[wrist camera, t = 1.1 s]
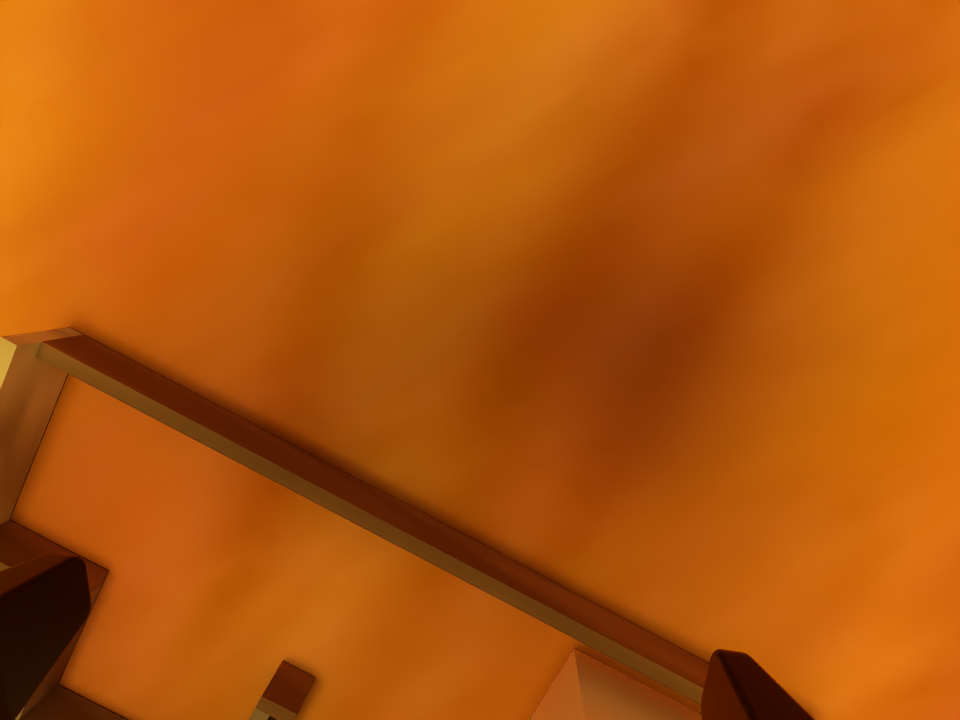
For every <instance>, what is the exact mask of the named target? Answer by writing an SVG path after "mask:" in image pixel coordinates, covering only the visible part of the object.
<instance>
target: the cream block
mask: <svg viewBox="0 0 960 720" xmlns="http://www.w3.org/2000/svg"><path fill="white" fill-rule="evenodd" d="M529 720H702V716H701V714H700V713H698V712H696V711H694V710H693V709H691V708H689V707H687V706H685V705H683V704H681V703H679V702H677V701H675V700H673V699H671V698H669V697H667V696H665V695H663V694H662V693H660V692H658V691H656V690H654V689H652V688H650V687H648V686H646V685H644V684H642V683H640V682H638V681H636V680H634V679H633V678H631V677H629V676H627V675H625V674H623V673H621V672H619V671H617V670H615V669H613V668H611V667H609V666H607V665H605V664H604V663H602V662H600V661H598V660H596V659H594V658H592V657H590V656H588V655H586V654H584V653H582V652H580V651H578V650H576V649H575V648H574V649H573V651H572V652H571V654H570V655H569V657H568V659H567V660H566V662H565V663H564V665H563V667H562V668H561V670H560V671H559V673H558V675H557V676H556V678H555V679H554V681H553V683H552V684H551V686H550V687H549V689H548V691H547V692H546V694H545V695H544V697H543V699H542V700H541V702H540V703H539V705H538V707H537V708H536V710H535V711H534V713H533V715H532V716H531V718H530V719H529Z"/></svg>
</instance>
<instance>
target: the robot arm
mask: <svg viewBox="0 0 960 720" xmlns="http://www.w3.org/2000/svg"><path fill="white" fill-rule="evenodd" d="M91 604H92V602H91V593H90V586H89V579H88V572H87V566H86V562H85V561H84V559H83V558H82V557H80V556H77V555H71V554H64V553H50V554H47V555H44V556H41V557H38V558H36V559H33V560H30V561H27V562H24V563H22V564H19V565H16V566H13V567H10V568H8V569H5V570H2V571H0V720H15V719H16V718H17V716H18V715H19V713H20V712H21V711H22V709H23V708H24V707H25V705H26V704H27V703H28V701H29V700H30V698H31V697H32V696H33V694H34V693H35V691H36V690H37V689H38V687H39V686H40V684H41V683H42V682H43V680H44V679H45V677H46V676H47V675H48V673H49V672H50V670H51V669H52V668H53V666H54V665H55V663H56V662H57V660H58V659H59V658H60V656H61V655H62V653H63V652H64V651H65V649H66V648H67V646H68V645H69V644H70V642H71V641H72V639H73V638H74V637H75V635H76V634H77V632H78V631H79V630H80V628H81V627H82V625H83V624H84V623H85V621H86V619H87V617H88V615H89V613H90V609H91ZM701 716H702V720H815V719H813V718H812V717H811V716H810V715H809V714H808V713H807V712H806V711H805V710H804V709H803V708H802V707H801V706H800V705H799V704H798V703H797V702H796V701H795V700H794V699H793V698H792V697H791V696H790V695H789V694H788V693H787V692H786V691H785V690H784V689H783V688H782V687H781V686H780V685H779V684H778V683H777V682H776V681H775V680H774V679H773V678H772V677H771V676H770V675H769V674H768V673H767V672H766V671H765V670H764V669H763V668H762V667H761V666H760V665H759V664H758V663H757V662H756V661H755V660H754V659H753V658H752V657H750V656H749V655H748V654H746V653H743V652H736V651H730V650H723V649H718V650H716V651H714V652H713V654H712V656H711V659H710V663H709V668H708V672H707V676H706V680H705V684H704V689H703V693H702V698H701Z"/></svg>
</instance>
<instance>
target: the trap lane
mask: <svg viewBox="0 0 960 720" xmlns="http://www.w3.org/2000/svg"><path fill="white" fill-rule="evenodd" d="M67 374H70V375H72V376H74V377H76V378H78V379H79V380H81V381H83V382H85V383H87V384H89V385H91V386H93V387H95V388H97V389H99V390H100V391H102V392H104V393H106V394H108V395H110V396H112V397H114V398H116V399H118V400H120V401H121V402H123V403H125V404H127V405H129V406H131V407H133V408H135V409H137V410H139V411H141V412H143V413H144V414H146V415H148V416H150V417H152V418H154V419H156V420H158V421H160V422H162V423H164V424H165V425H167V426H169V427H171V428H173V429H175V430H177V431H179V432H181V433H183V434H185V435H186V436H188V437H190V438H192V439H194V440H196V441H198V442H200V443H202V444H204V445H206V446H207V447H209V448H211V449H213V450H215V451H217V452H219V453H221V454H223V455H225V456H227V457H229V458H230V459H232V460H234V461H236V462H238V463H240V464H242V465H244V466H246V467H248V468H250V469H251V470H253V471H255V472H257V473H259V474H261V475H263V476H265V477H267V478H269V479H271V480H272V481H274V482H276V483H278V484H280V485H282V486H284V487H286V488H288V489H290V490H292V491H294V492H295V493H297V494H299V495H301V496H303V497H305V498H307V499H309V500H311V501H313V502H315V503H316V504H318V505H320V506H322V507H324V508H326V509H328V510H330V511H332V512H334V513H336V514H337V515H339V516H341V517H343V518H345V519H347V520H349V521H351V522H353V523H355V524H357V525H358V526H360V527H362V528H364V529H366V530H368V531H370V532H372V533H374V534H376V535H378V536H380V537H381V538H383V539H385V540H387V541H389V542H391V543H393V544H395V545H397V546H399V547H401V548H402V549H404V550H406V551H408V552H410V553H412V554H414V555H416V556H418V557H420V558H422V559H423V560H425V561H427V562H429V563H431V564H433V565H435V566H437V567H439V568H441V569H443V570H445V571H446V572H448V573H450V574H452V575H454V576H456V577H458V578H460V579H462V580H464V581H466V582H467V583H469V584H471V585H473V586H475V587H477V588H479V589H481V590H483V591H485V592H487V593H488V594H490V595H492V596H494V597H496V598H498V599H500V600H502V601H504V602H506V603H508V604H509V605H511V606H513V607H515V608H517V609H519V610H521V611H523V612H525V613H527V614H529V615H531V616H532V617H534V618H536V619H538V620H540V621H542V622H544V623H546V624H548V625H550V626H552V627H553V628H555V629H557V630H559V631H561V632H563V633H565V634H567V635H569V636H571V637H573V638H574V639H576V640H578V641H580V642H582V643H584V644H586V645H588V646H590V647H592V648H594V649H596V650H597V651H599V652H601V653H603V654H605V655H607V656H609V657H611V658H613V659H615V660H617V661H618V662H620V663H622V664H624V665H626V666H628V667H630V668H632V669H634V670H636V671H638V672H639V673H641V674H643V675H645V676H647V677H649V678H651V679H653V680H655V681H657V682H659V683H660V684H662V685H664V686H666V687H668V688H670V689H672V690H674V691H676V692H678V693H680V694H682V695H683V696H685V697H687V698H689V699H691V700H693V701H695V702H697V703H699V704H701V698H702V693H703V689H704V684H705V680H706V676H707V672H708V668H709V663H707V662H706V661H704V660H702V659H700V658H698V657H696V656H694V655H692V654H690V653H688V652H687V651H685V650H683V649H681V648H679V647H677V646H675V645H673V644H671V643H669V642H667V641H666V640H664V639H662V638H660V637H658V636H656V635H654V634H652V633H650V632H648V631H647V630H645V629H643V628H641V627H639V626H637V625H635V624H633V623H631V622H629V621H628V620H626V619H624V618H622V617H620V616H618V615H616V614H614V613H612V612H610V611H608V610H607V609H605V608H603V607H601V606H599V605H597V604H595V603H593V602H591V601H589V600H588V599H586V598H584V597H582V596H580V595H578V594H576V593H574V592H572V591H570V590H568V589H567V588H565V587H563V586H561V585H559V584H557V583H555V582H553V581H551V580H549V579H548V578H546V577H544V576H542V575H540V574H538V573H536V572H534V571H532V570H530V569H528V568H527V567H525V566H523V565H521V564H519V563H517V562H515V561H513V560H511V559H509V558H508V557H506V556H504V555H502V554H500V553H498V552H496V551H494V550H492V549H490V548H489V547H487V546H485V545H483V544H481V543H479V542H477V541H475V540H473V539H471V538H469V537H468V536H466V535H464V534H462V533H460V532H458V531H456V530H454V529H452V528H450V527H449V526H447V525H445V524H443V523H441V522H439V521H437V520H435V519H433V518H431V517H429V516H428V515H426V514H424V513H422V512H420V511H418V510H416V509H414V508H412V507H410V506H409V505H407V504H405V503H403V502H401V501H399V500H397V499H395V498H393V497H391V496H390V495H388V494H386V493H384V492H382V491H380V490H378V489H376V488H374V487H372V486H370V485H369V484H367V483H365V482H363V481H361V480H359V479H357V478H355V477H353V476H351V475H350V474H348V473H346V472H344V471H342V470H340V469H338V468H336V467H334V466H332V465H330V464H329V463H327V462H325V461H323V460H321V459H319V458H317V457H315V456H313V455H311V454H310V453H308V452H306V451H304V450H302V449H300V448H298V447H296V446H294V445H292V444H291V443H289V442H287V441H285V440H283V439H281V438H279V437H277V436H275V435H273V434H271V433H270V432H268V431H266V430H264V429H262V428H260V427H258V426H256V425H254V424H252V423H251V422H249V421H247V420H245V419H243V418H241V417H239V416H237V415H235V414H233V413H231V412H230V411H228V410H226V409H224V408H222V407H220V406H218V405H216V404H214V403H212V402H211V401H209V400H207V399H205V398H203V397H201V396H199V395H197V394H195V393H193V392H192V391H190V390H188V389H186V388H184V387H182V386H180V385H178V384H176V383H174V382H172V381H171V380H169V379H167V378H165V377H163V376H161V375H159V374H157V373H155V372H153V371H152V370H150V369H148V368H146V367H144V366H142V365H140V364H138V363H136V362H134V361H132V360H131V359H129V358H127V357H125V356H123V355H121V354H119V353H117V352H115V351H113V350H112V349H110V348H108V347H106V346H104V345H102V344H100V343H98V342H96V341H94V340H93V339H91V338H89V337H87V336H85V335H83V334H81V333H79V332H77V331H75V330H73V329H72V328H70V327H68V328H60V329H53V330H46V331H39V332H32V333H25V334H18V335H11V336H3V337H0V571H2V570H5V569H8V568H10V567H13V566H16V565H19V564H22V563H24V562H27V561H30V560H33V559H36V558H38V557H41V556H44V555H47V554H50V553H64V554H71V555H76V554H74V553H72V552H70V551H69V550H67V549H65V548H63V547H61V546H59V545H57V544H55V543H53V542H51V541H49V540H47V539H45V538H43V537H41V536H39V535H37V534H36V533H34V532H32V531H30V530H28V529H26V528H24V527H22V526H20V525H18V524H16V523H14V522H12V521H10V520H9V519H10V516H11V514H12V511H13V509H14V506H15V504H16V501H17V499H18V496H19V494H20V491H21V489H22V486H23V484H24V481H25V479H26V476H27V474H28V471H29V469H30V466H31V464H32V461H33V459H34V456H35V454H36V451H37V449H38V446H39V444H40V441H41V439H42V436H43V434H44V431H45V429H46V426H47V424H48V422H49V419H50V417H51V414H52V412H53V409H54V407H55V404H56V402H57V399H58V397H59V394H60V392H61V389H62V387H63V384H64V382H65V379H66V377H67ZM77 556H78V555H77ZM83 559H84V558H83ZM84 561H85V562H86V566H87V572H88V579H89V586H90V593H91V602H92V604H91V609H92V607H93V604H94V602H95V600H96V598H97V595H98V593H99V591H100V589H101V586H102V584H103V582H104V580H105V577H106V575H107V573H108V571H107V570H105V569H103V568H102V567H100V566H98V565H96V564H94V563H92V562H90V561H88V560H86V559H84ZM91 609H90V611H91ZM88 616H89V615H88ZM87 618H88V617H87ZM86 620H87V619H86ZM85 622H86V621H85ZM84 625H85V623H84V624H83V625H82V627H81V628H80V630H79V631H78V632H77V634H76V635H75V637H74V638H73V639H72V641H71V642H70V644H69V645H68V646H67V648H66V649H65V651H64V652H63V653H62V655H61V656H60V658H59V659H58V660H57V662H56V663H55V665H54V666H53V668H52V669H51V670H50V672H49V673H48V675H47V676H46V677H45V679H44V680H43V682H42V683H41V684H40V686H39V687H38V689H37V690H36V691H35V693H34V694H33V696H32V697H31V698H30V700H29V701H28V703H27V704H26V705H25V707H24V708H23V709H22V711H21V712H20V713H19V715H18V716H17V718H16V719H15V720H126V719H124V718H122V717H121V716H119V715H117V714H115V713H113V712H111V711H109V710H107V709H105V708H103V707H101V706H99V705H97V704H95V703H93V702H91V701H89V700H87V699H85V698H83V697H81V696H79V695H77V694H75V693H73V692H71V691H69V690H67V689H66V688H64V687H62V686H60V685H58V683H59V681H60V679H61V676H62V674H63V672H64V670H65V667H66V665H67V663H68V661H69V658H70V656H71V654H72V652H73V649H74V647H75V645H76V643H77V640H78V638H79V636H80V634H81V631H82V629H83V627H84ZM314 679H315V677H313V676H311V675H309V674H307V673H305V672H303V671H301V670H299V669H297V668H296V667H294V666H292V665H290V664H288V663H286V662H284V661H282V663H281V665H280V666H279V668H278V670H277V672H276V673H275V675H274V677H273V678H272V680H271V682H270V683H269V685H268V687H267V689H266V690H265V692H264V694H263V695H262V697H261V699H260V701H259V703H258V705H257V707H256V709H255V710H254V712H253V714H252V716H251V718H250V720H268V719H269V717H270V716H271V717H273V718H275V719H276V720H295V718H296V716H297V714H298V712H299V710H300V708H301V706H302V704H303V702H304V700H305V697H306V695H307V693H308V691H309V689H310V687H311V685H312V683H313V681H314Z"/></svg>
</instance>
